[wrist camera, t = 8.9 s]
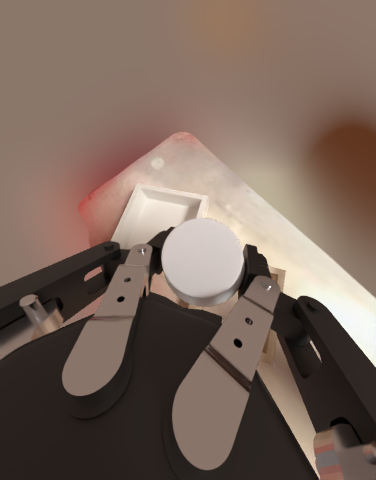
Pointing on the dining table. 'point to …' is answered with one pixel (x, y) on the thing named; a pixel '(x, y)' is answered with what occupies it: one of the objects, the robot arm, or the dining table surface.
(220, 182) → the dining table surface
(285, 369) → the dining table surface
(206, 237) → the supplement bottle
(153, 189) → the bin
